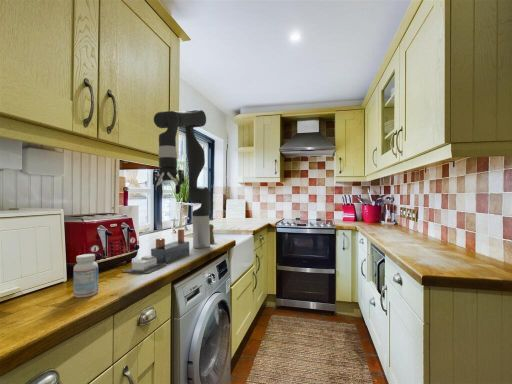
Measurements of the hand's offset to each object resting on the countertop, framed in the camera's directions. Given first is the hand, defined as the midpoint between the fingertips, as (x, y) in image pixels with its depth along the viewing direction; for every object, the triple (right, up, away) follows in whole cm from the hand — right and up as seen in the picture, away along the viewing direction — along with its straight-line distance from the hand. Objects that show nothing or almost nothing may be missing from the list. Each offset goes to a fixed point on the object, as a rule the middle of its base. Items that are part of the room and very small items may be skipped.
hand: (168, 194), depth 118 cm
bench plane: (0, -29, +5) cm, 30 cm away
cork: (+10, -30, +46) cm, 56 cm away
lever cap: (-5, -29, -14) cm, 32 cm away
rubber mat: (-5, -29, -14) cm, 32 cm away
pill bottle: (-11, -29, -40) cm, 51 cm away
